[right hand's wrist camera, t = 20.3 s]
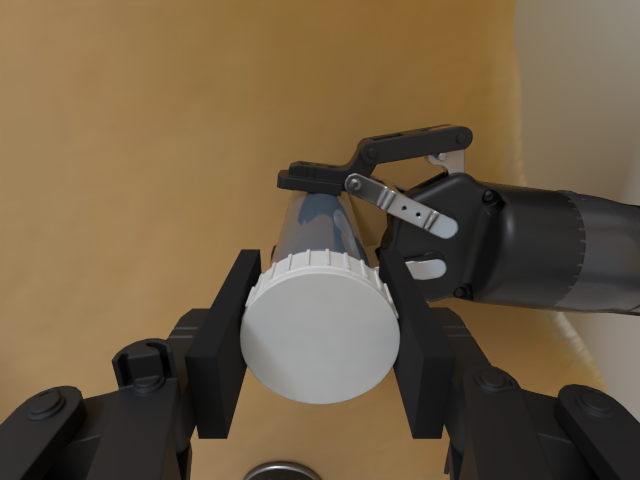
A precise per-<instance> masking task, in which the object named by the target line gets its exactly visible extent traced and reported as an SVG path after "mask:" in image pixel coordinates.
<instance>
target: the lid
mask: <svg viewBox="0 0 640 480" xmlns="http://www.w3.org/2000/svg"><path fill="white" fill-rule="evenodd" d="M245 306H246V309H245V312H244V314H243V317H242V324H241V330H240V346H241V351H242V354H243V357H244V360H245V362H246V364H247V366H248V368H249V369H250V371H251V372H252V374H253V375H254V376H255V377H256V378H257V379H258V380H259V381H260V382H261V383H262V384H263V385H264V386H266V387H267V388H268V389H270V390H271V391H273V392H274V393H276V394H278V395H280V396H282V397H285V398H288V399H290V400H294V401H298V402H302V403H309V404H332V403H338V402H343V401H346V400H350V399H352V398H355V397H358V396H360V395H362V394H364V393H366V392H367V391H369V390H370V389H372V388H373V387H375V386H376V385H377V384H378V383H379V382H381V381H382V379H383V378H384V377H385V376H386V375H387V374H388V372H389V371H390V369H391V368H392V366H393V364H394V362H395V360H396V358H397V355H398V352H399V346H400V329H399V324H398V321H397V319H399V316H398V313H397V311H396V308H395V305H394V303H393V300H392V298H391V295H390V292H389V290H388V287H387V285H386V283H385V284H383V283H382V281H381V280H380V278H379V276H378V273H377V271H376V270H375V271H373V270H371V269H370V268H369V267H368V266H366V265H365V263H364V261H363V260H361V261H359V260H357V259H355V258H352V257H350V256H348V254H347V253H346V252H344V254H341V253H337V252H331V251H329V249H326V251H310V249H307V252H303V253H299V254H296V255H292V254H289V255H288V258H285V259H283V260H281V261H280V262H278V263H276V262H274V263H273V264H272V267H271V268H270V269H269V270H268V271H266V273H265V274H263V273H261V275H260V277H259V280H258V283H257V284H256V286H255V287H252V289H251V291H250V294H249V297H248V300H247V302H246V305H245Z"/></svg>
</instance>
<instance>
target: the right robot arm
mask: <svg viewBox="0 0 640 480" xmlns="http://www.w3.org/2000/svg"><path fill="white" fill-rule="evenodd" d="M260 275H261V258H260V250H241V252H240V254H239V255H238V257H237V259H236V261H235V263H234V265H233V267H232V269H231V270H230V272H229V274H228V276H227V278H226V280H225V282H224V284H223V285H222V287H221V289H220V291H219V293H218V295H217V297H216V299H215V300H214V302H213V304H212V306H211V308H210V309H191V310H190V311H189V312H187V313H186V314H185V315H183V316H182V317H181V318H180V320H179V321H178V323H177V324H176V326H175V327H174V330H172V332H171V333H170V335H169V338H167V340H163V339H159V338H153V339H145V340H141V341H137V342H135V343H132V344H130V345H128V346H126V347H125V348H123V349H122V350H121V351H119V352H118V353H117V354H116V355H115V357H114V358H113V359H112V364H113V368H114V372H115V375H116V379H117V383H118V386H119V390H118V391H114V392H111V393H107V394H103V395H99V396H95V397H90V398H86V399H83V397H82V394H81V391H80V390H78V389H77V388H76V387H72V386H60V387H54V388H51V389H48V390H45V391H42V392H40V393H38V394H36V395H35V396H33V397H31V398H29V399H28V400H26V401H25V402H24V403H23V404H21V405H20V406H19V407H18V408H17V409H16V410H15V411H14V412H13V413H12V414H11V415H10V416H9V417H8V418H7V419H6V420H5V421H4V422H3V423H2V424H1V425H0V480H190V473H191V462H192V448H191V442H190V439H191V437H192V434H193V431H194V429H195V426H197V431H198V437H199V439H227V437H228V433H229V430H230V426H231V423H232V419H233V415H234V412H235V408H236V404H237V401H238V397H239V394H240V390H241V386H242V383H243V379H244V376H245V372H246V368H247V364H246V362H245V360H244V357H243V354H242V351H241V346H240V330H241V324H242V317H243V314H244V312H245V309H246V306H245V305H246V302H247V300H248V297H249V294H250V291H251V289H252V287H255V286H256V284H257V283H258V280H259V277H260ZM378 276H379V278H380V280H381V281H382V283H383V284H385V283H386V285H387V287H388V290H389V292H390V295H391V298H392V300H393V303H394V305H395V308H396V311H397V313H398V316H399V319H397V321H398V324H399V329H400V346H399V352H398V355H397V358H396V360H395V362H394V364H393V368H394V372H395V375H396V379H397V383H398V386H399V390H400V393H401V397H402V401H403V404H404V408H405V411H406V415H407V419H408V422H409V426H410V429H411V433H412V437H413V439H441V437H442V432H443V426H444V424H445V427H446V429H447V432H448V435H449V437H450V442H449V448H448V453H447V458H446V463H445V469H444V474H449V472H450V480H640V423H639V422H638V421H637V420H636V419H635V418H634V417H633V416H632V415H631V414H630V413H629V412H628V411H627V409H625V407H623V406H622V405H621V404H620V403H619V402H617V401H616V400H615V399H614V398H612V397H610V396H609V395H607V394H605V393H603V392H601V391H600V390H597V389H594V388H591V387H588V386H584V385H577V384H572V385H566V386H564V387H563V388H562V389H560V391H559V394H558V397H557V398H556V397H551V396H547V395H543V394H539V393H534V392H530V391H527V390H524V389H521V387H520V386H519V384H518V383H517V381H516V380H515V379H514V378H513V377H512V376H511V375H509V374H508V373H507V372H505V371H503V370H501V369H499V368H497V367H493V366H491V364H490V362H489V361H488V359H487V358H486V356H485V355H484V353H483V352H482V350H481V349H480V347H479V346H478V344H477V343H476V341H475V339H474V338H473V337H472V336H471V333H470V332H469V330H468V329H467V328H466V326H465V324H464V323H463V321H462V320H461V318H460V317H459V316H458V315H457V314H456V313H454V312H453V311H452V310H450V309H449V308H429V306H428V304H427V302H426V300H425V298H424V296H423V295H422V293H421V291H420V289H419V287H418V285H417V283H416V282H415V280H414V278H413V276H412V274H411V272H410V270H409V268H408V267H407V265H406V263H405V261H404V259H403V257H402V255H401V253H400V252H399V250H380V259H379V274H378Z"/></svg>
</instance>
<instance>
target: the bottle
mask: <svg viewBox="0 0 640 480" xmlns="http://www.w3.org/2000/svg"><path fill="white" fill-rule="evenodd" d="M307 249H310V251H326V249H329V251H331V252H337V253H341V254H344V252H346V253H347V254H348V256H350V257H352V258H355V259H357V260H359V261H361V260H363V261H364V263H365V265H366V266H368V267H369V268H370V269H371V267H370V264H369V261H368V258H367V254H366V251H365V248H364V245H363V241H362V238H361V235H360V231H359V228H358V225H357V222H356V218H355V215H354V212H353V209H352V205H351V202H350V199H349V196H348V192H343V191H342V192H341V196H337V195H329V194H320V193H312V192H304V191H296V190H293V193H292V196H291V200H290V203H289V206H288V209H287V213H286V216H285V219H284V222H283V226H282V229H281V232H280V235H279V239H278V242H277V245H276V248H275V252H274V255H273V258H272V261H271V265H270V268H271V267H272V264H273V263H274V262H276V263H278V262H280V261H281V260H283V259H285V258H288V255H289V254H292V255H296V254H299V253H303V252H307ZM270 268H269V269H270Z"/></svg>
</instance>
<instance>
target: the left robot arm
mask: <svg viewBox="0 0 640 480" xmlns="http://www.w3.org/2000/svg"><path fill="white" fill-rule="evenodd" d="M472 139H473V135H472V132H471V130H470V129H469V128H467V127H462V126H456V125H450V124H445V125H439V126H433V127H427V128H421V129H416V130H410V131H404V132H398V133H392V134H386V135H381V136H375V137H369V138H364V139H362V140H361V141H360V142H359V143H358V146H357V150H356V151H355V153H354V155H353V157H352V159H351V160H350V162H348V163H347V164H346V165H343V166H335V165H327V164H320V163H312V162H304V161H298V162H294V163H291V164H290V166H289V170H280V172H279V174H278V180H277V187H278V188H281V189H287V190H296V191H304V192H312V193H320V194H329V195H337V196H341V192H342V191H343V192H348V193H350V194H352V195H354V196H356V197H358V198H361V199H363V200H365V201H367V202H370V203H372V204H374V205H376V206H378V207H379V208H380V209H382V210H384V211H386V212H387V229H386V231H385V233H384V235H383V237H382V240H381V244H376V245H370V246H366V247H364V248H365V251H366V254H367V258H368V261H369V264H370V267H371V270H373V271H375V270H376V271H377V273H378V274H379V259H380V250H399V252H400V253H401V255H402V257H403V259H404V261H405V263H406V265H407V267H408V268H409V270H410V272H411V274H412V276H413V278H414V280H415V282H416V283H417V285H418V287H419V289H420V291H421V293H422V295H423V296H424V298H425V300H426V302H427V304H428V302H429V301H430V302H433V301H438V300H441V299H444V298H449V297H456V298H460V299H464V300H468V301H472V302H477V303H487V304H496V305H505V306H514V307H523V308H532V309H542V310H551V311H560V312H571V313H617V314H626V315H635V316H640V206H637V205H628V204H623V203H619V202H615V201H612V200H608V199H604V198H600V197H595V196H590V195H583V194H577V193H574V192H572V191H565V190H557V191H551V190H542V189H535V188H527V187H519V186H511V185H503V184H495V183H487V182H480V181H477V180H475V179H474V178H473V177H472V176H470V175H469V174H466V173H465V149H466V148H467V147H468V146H469V145H470V144H471V142H472ZM422 156H424V158H425V160H426V161H427V162H429V163H431V164H433V165H436V166H442V167H443V170H444V172H442V173H440V174H439V175H437V176H435V177H433V178H431V179H429V180H427V181H425V182H423V183H421V184H419V185H417V186H415V187H413V188H411V189H409V190H406V189H404V188H402V187H400V186H398V185H395V184H393V183H391V182H389V181H387V180H385V179H382V178H378V177H376V176H374V175H372V174H371V173H372V172H373V170H374V168H375V166H376V165H377V164H380V163H386V162H392V161H398V160H404V159H410V158H416V157H422ZM275 248H276V245H275V246H274V248H273V251H272V254H271V261H272V258H273V255H274V252H275ZM243 480H321V479H320V478H319V476H318V475H317V474H316V473H315V472H313V471H312V470H311V469H309V468H307V467H305V466H303V465H300V464H297V463H292V462H283V461H280V462H270V463H266V464H262V465H260V466H258V467H256V468H254V469H252V470H251V471H250V472H249V473H248V474H247V475H246V476H245V478H244V479H243Z"/></svg>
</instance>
